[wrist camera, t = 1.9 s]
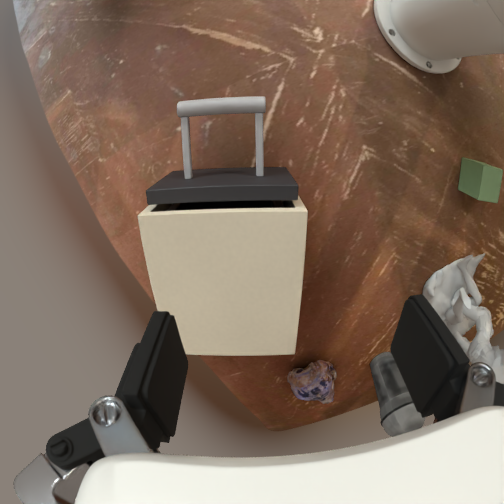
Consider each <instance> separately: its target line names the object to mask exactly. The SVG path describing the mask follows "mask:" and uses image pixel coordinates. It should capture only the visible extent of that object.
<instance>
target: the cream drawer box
mask: <svg viewBox="0 0 504 504" xmlns="http://www.w3.org/2000/svg"><path fill="white" fill-rule="evenodd" d="M282 203H283V205H284V208H235V209H202V210H178V211H167V210H168V209H169V208H170V207H171V206H172V204H173V203H172V204H155V205H149V206H148V207H147V208H146V209H144V210H143V211H142V212H141V213H140V214H139V215H138V222H139V227H140V233H141V239H142V244H143V249H144V254H145V259H146V264H147V268H148V273H149V277H150V282H151V286H152V290H153V294H154V298H155V302H156V306H157V310H158V311H168V312H169V313H170V315H174V317H175V320H176V324H177V327H178V331H179V334H180V337H181V341H182V344H183V347H184V351H185V354H193V355H226V356H255V355H288V354H295V348H296V340H297V332H298V323H299V314H300V304H301V294H302V284H303V272H304V260H305V247H306V233H307V217H308V211H307V209H306V208H305V206H304V204H303V202H302V201H301V199H300V197H299V196H298V200H282Z"/></svg>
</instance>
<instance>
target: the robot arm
mask: <svg viewBox="0 0 504 504" xmlns="http://www.w3.org/2000/svg"><path fill="white" fill-rule="evenodd" d="M374 14H375V18H376V21H377V24H378V27H379V29H380V31H381V33H382V34H383V36H384V37H385V39H386V41H387V42H388V43H389V45H390V46H391V47H392V48H393V49H394V51H395V52H396V53H398V54H399V55H400V56H401V57H402V58H403V59H404V60H405V61H407V62H408V63H409V64H411V65H412V66H414V67H416V68H418V69H420V70H422V71H425V72H428V73H434V74H437V73H446V72H450V71H452V70H454V69H455V68H456V67H457V66H458V65H459V63H460V61H461V59H462V57H469V56H478V55H489V54H504V0H374ZM390 349H391V354H392V356H393V358H394V360H395V362H396V364H397V367H398V369H399V371H400V373H401V375H402V378H403V380H404V382H405V384H406V387H407V389H408V391H409V394H410V396H411V398H412V401H413V403H414V406H415V408H416V410H417V412H420V413H421V416H422V418H424V417H427V416H430V415H432V414H434V416H435V420H434V423H433V424H432V425H428V426H426V427H423V428H420V429H417V430H414V431H410V432H407V433H404V434H401V435H397V436H394V437H390V438H387V439H383V440H379V441H375V442H371V443H366V444H362V445H357V446H352V447H347V448H342V449H336V450H331V451H323V452H316V453H309V454H299V455H288V456H275V457H254V458H253V457H251V458H250V457H249V458H233V457H202V456H188V455H176V454H163V453H160V451H159V450H158V448H159V446H160V442H167V443H169V440H170V436H172V437H173V436H174V435H175V431H176V425H177V420H178V415H179V410H180V404H181V399H182V394H183V389H184V384H185V379H186V375H187V370H188V360H187V357H186V354H185V351H184V347H183V344H182V341H181V337H180V334H179V331H178V327H177V324H176V320H175V317H174V315H170V313H169V312H168V311H155V312H154V313H153V314H152V317H151V319H150V321H149V324H148V326H147V328H146V331H145V333H144V335H143V338H142V340H141V343H137V344H136V345H135V347H134V349H133V351H132V353H131V356H130V358H129V361H128V363H127V366H126V368H125V371H124V373H123V376H122V378H121V381H120V383H119V386H118V388H117V391H116V394H115V396H104V397H100V398H99V399H97V400H95V401H94V402H93V404H92V405H91V407H90V409H89V414H88V415H89V418H87V419H85V420H83V421H81V422H79V423H77V424H75V425H74V426H71V427H69V428H68V429H65V430H63V431H61V432H59V433H57V434H55V435H54V436H52V437H51V438H50V439H49V441H48V443H47V445H46V453H45V454H44V455H43V454H42V453H41V454H40V455H39V456H37V457H36V458H35V459H34V460H33V461H32V462H31V463H30V464H29V465H28V466H27V467H26V468H24V469H23V470H22V471H21V472H20V473H19V474H18V475H17V476H16V478H15V480H14V489H15V492H16V494H17V495H18V497H19V498H20V500H21V501H22V503H23V504H504V384H502V383H499V382H497V381H496V375H495V373H494V371H493V369H492V368H491V367H490V366H489V365H487V364H485V363H483V362H475V363H473V364H472V365H471V366H470V365H469V364H468V363H469V361H470V360H469V358H468V357H467V355H466V354H465V352H464V351H463V349H462V348H461V346H460V345H459V343H458V342H457V340H456V339H455V337H454V336H453V334H452V333H451V332H450V330H449V329H448V327H447V326H446V324H445V323H444V322H443V320H442V319H441V318H440V316H439V315H438V313H437V312H436V311H435V309H434V308H433V307H432V305H431V304H430V303H429V302H428V300H427V299H426V298H425V296H424V295H422V294H420V295H413V296H410V297H409V298H408V300H406V301H405V304H404V307H403V311H402V314H401V317H400V320H399V323H398V326H397V329H396V332H395V335H394V338H393V341H392V343H391V348H390ZM75 498H76V501H75Z"/></svg>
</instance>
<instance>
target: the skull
mask: <svg viewBox="0 0 504 504" xmlns="http://www.w3.org/2000/svg"><path fill="white" fill-rule="evenodd" d="M332 367H333V364H331V363H330V362H325V361H323V360H318V361H317V362H315V363H313V362H311V363H310V364H309V365H308V366H307V367H305V368H297V369H293V371H291V372H289V374H288V377H287V379H288V382H289V383H290V384H291V389H292V391H293V393H294V395H295V396H296V397H297V398H298V399H301V400H307V401H309V400H318V401H320V402H322V403H323V404H325V403H330V402H332V401H333V398H334V380H335V379H336V377H337V374H336V370H335V369H334V368H332ZM331 374H333V377H332V375H331Z"/></svg>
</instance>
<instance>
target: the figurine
mask: <svg viewBox="0 0 504 504" xmlns="http://www.w3.org/2000/svg"><path fill="white" fill-rule="evenodd" d="M484 256H485V253H484V254H481V255H478V256H476V257H473V256H472V255H469V256H467V257H465V258H462V259H458V260H456V261H454V262H453V263H451V264H450V265H446V266H445V267H444V268H442V269H440V270H438V271H436V272H435V273H434V274H433V275H432V276H431V277H430V279H429V280H427V281H426V284H425V285H424V288H423V293H422V295H424V296H425V298H426V299H427V300H428V302H429V303H430V304H431V305H432V307H433V308H434V309H435V311H436V312H437V313H438V315H439V316H440V318H441V319H442V320H443V322H444V323H445V324H446V326H447V327H448V329H449V330H450V332H451V333H452V334H453V336H454V337H455V339H456V340H457V342H458V343H459V345H460V346H461V348H462V349H463V351H464V352H465V354H466V355H467V356H468V358H469V360H470V361H471V362H472V364H473V363H475V362H483V363H485V364H487V365H489V366H490V367H491V368H492V369H493V371H494V373H495V375H496V381H497V382H499V383H502V384H504V349H502V350H500V349H499V345H498V346H493V347H491V344H490V342H489V340H490V337H492V335H493V332H494V330H493V329H492V327H493V326H492V322H491V313H490V311H489V310H488V309H487V308H486V307H482V306H481V307H478V306H479V305H480V303H481V302H482V297H481V294H480V292H479V291H478V288H477V285H476V284H475V282H474V280H473V275H474V273H475V271H476V267H477V265H478V263H479V262H480V261H481V260H482V258H483V257H484ZM469 293H470V294H471V295H472V297H468V296H467V295H468V294H469ZM475 324H476V329H477V334H476V336H475V338H474V339H473V340H472V342H471V343H470V342H469V341H468V340H467V338H465V337H462V336H463V335H464V334H465V332H467V331H469V330H470V329H471V327H472V326H474V325H475Z"/></svg>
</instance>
